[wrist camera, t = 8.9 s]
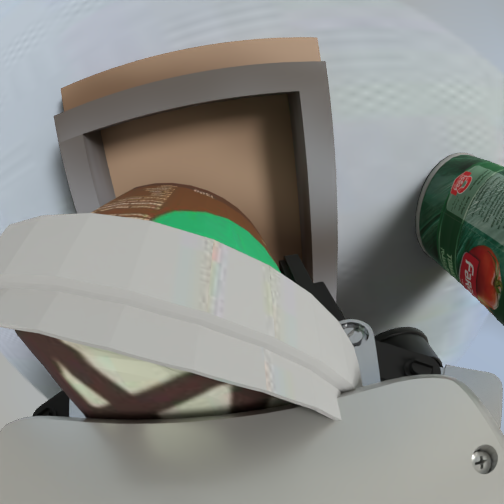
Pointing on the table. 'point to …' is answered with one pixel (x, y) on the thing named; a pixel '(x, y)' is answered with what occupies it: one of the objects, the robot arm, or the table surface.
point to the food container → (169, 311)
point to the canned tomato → (466, 225)
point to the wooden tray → (216, 138)
